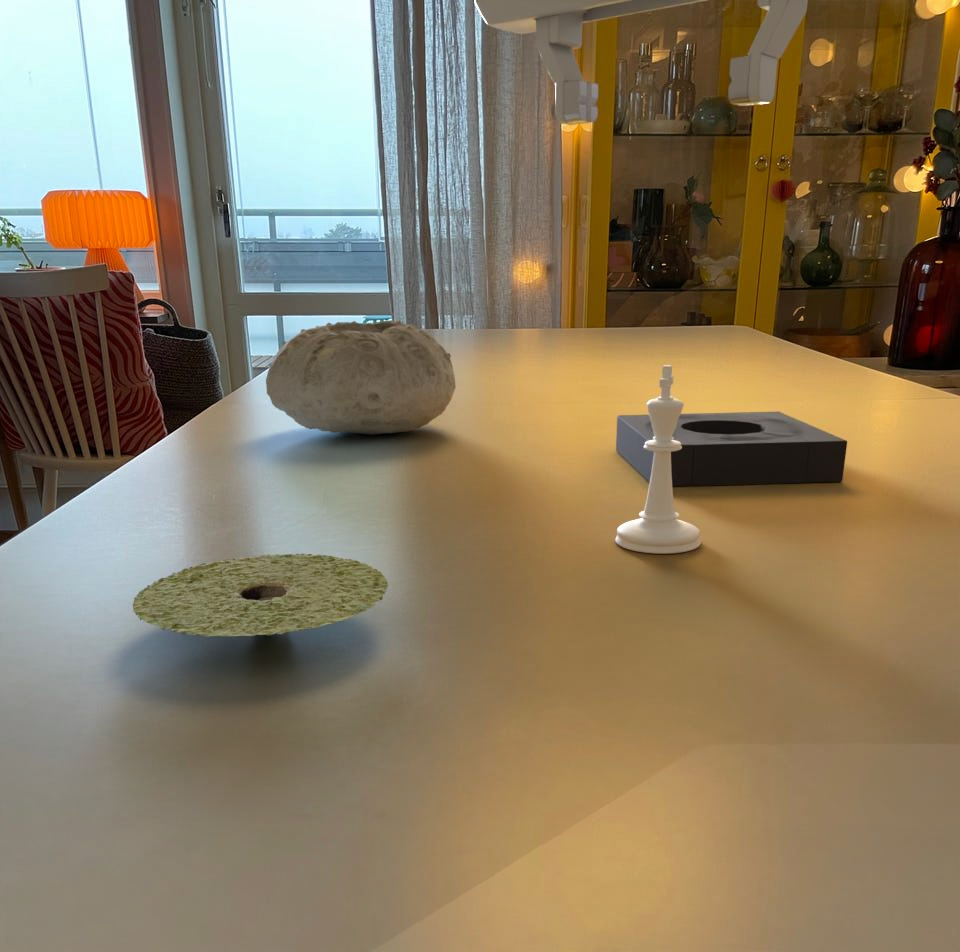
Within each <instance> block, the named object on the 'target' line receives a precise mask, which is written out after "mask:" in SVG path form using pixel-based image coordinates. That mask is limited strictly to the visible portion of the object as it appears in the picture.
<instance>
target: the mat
mask: <svg viewBox="0 0 960 952" xmlns="http://www.w3.org/2000/svg"><path fill="white" fill-rule="evenodd" d="M388 583H389V582H388V579H387V578H386V576H384V575H383V573H382V572H381V571H379V570H378V569H377V568H374V567H372V566H371V565H369V564H366V563H363V562H360V561H358V560H354V559H352V558H342V557H337V556H333V555H327V554H326V555H325V554H319V553H318V554H312V553H309V554H307V553H300V554H299V553H296V554H295V553H286V554H285V553H284V554H279V553H278V554H263V555H257V556H255V555H254V556H248V557H247V556H246V557H237V558H232V559H231V558H230V559H223V560H215V561H212V562H209V563H205V562H204V563H200V564H197V565H194V566H190V567H189V568H187V567H186V568H183V569H182V570H181V571H178V572H172V574H170V575H168V576H166V577H161V578H159V579H158V580H154V581H153V583H152V584H150V585H149V584H148V585H147V586H146V587H144V588H143V589H142V590H139V592H138V593H137V594H136V596H134V597H133V603H132V610H133V612H134V613H135V615H136V616H137V618H139V620H140V621H141V620H142V621H144V622H146V624H149V625H150V626H156V627H158V628H159V629H161V630H163V631H165V630H167V631H172V632H173V633H180V634H182V635H183V636H184V635H185V636H186V635H191V636H202V637H206V638H208V637H216V636H220V637H255V636H257V635H259V636H263V635H266V636H272V635H275V634H277V635H283V634H285V633H290V632H296V631H297V632H302V631H305V630H310V629H311V630H312V629H318V628H320V627H323V626H327V625H332V624H334V623H337V622H342V621H345V620H347V619H349V618H352V617H356V616H358V615H360V614H362V613H364V612H367V611H368V610H369V609H371V608H373V607H374V606H376V605H377V603H379V602H380V601H382V600H383V597H384V595H385V594H386V592H387V591H386V590H388V587H389V584H388Z"/></svg>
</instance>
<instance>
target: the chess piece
mask: <svg viewBox="0 0 960 952" xmlns="http://www.w3.org/2000/svg"><path fill="white" fill-rule="evenodd" d="M672 373H673V365H672V364H671V365H668V364H663V365H662V373H661V378H659V388H661V391H660V396H657V397H656V398H652V399H651V398H650V399H649V400H648V401H647V402H646V409H647V413H648V415H650V419H651V424H652V428H653V431H654V435H655V437H653V439H654V440H649V441H646V442H645V444H646V445H644V448H645V449H646V450H650V451H654V458H653V465H652V472H651V478H650V483H648V484H649V485H648V490H647V496H646V501H645V506H644V510H641V511H640V512H638V516H639V517H640V518H636V519H635V518H634V519H632V520H629V521H626V522H624V523H622V524H621V525H619V526H618V527H617V529H616V537H615V539H614V541H615V543H616V545H618V546H620V547H621V548H623V549H626V550H629V551H634V552H638V553H646V554H655V555H656V554H659V555H661V554H663V555H665V554H668V555H669V554H679V553H685V552H690V551H693V550H696V549H697V548H699V547H700V546H701V544H702V543H701V539H700V536H701V531H700V529H699V528H698V527H697V526H695V525H694V524H691V523H690V522H686V521H684V520H681V519H678V518H679V517H680V513H678V512H676V511H675V504H674V493H673V487H672V474H671V452H672V451H678V450H680V449H682V446H681V443H680V442H679V441H675V440H673V439H674V438H673V437H672V435H673V432H674V430H675V428H676V425H677V421H678V419H679V416H680V414H682V411H683V409H684V402H683V401H682V400H681V399H680V398H679V399H678V398H675V397H674V396H672V395H671V393H672V392H671V390H672V385H674V375H672Z"/></svg>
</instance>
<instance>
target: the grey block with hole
mask: <svg viewBox="0 0 960 952" xmlns="http://www.w3.org/2000/svg"><path fill="white" fill-rule="evenodd" d="M615 437H616V438H615V439H616V440H615V451H616V452H617V453H618V455H620V456H621V457H622V458H623V459H624V460H625V461H626V462H627V463H628V464H629V465H630V466H631V467H632V468H633V469H634V470H636V472H638V474H639V475H641V477H642V478H644V479H645V480H646V481H647V482H648V484H650V478H651V472H652V465H653V458H654V451H650V450H646V449H645V448H644V445H646V444H645V442H646V441H649V440H654V439H653V437H655V435H654V431H653V428H652V424H651V419H650V415H649V414H620V415H619V414H618V415H617V416H616V436H615ZM672 437H673V438H674V439H673V440H675V441H679V442H680V443H681V446H682V449H680V450H678V451H672V452H671V474H672V488H673V487H705V486H707V487H708V486H744V485H745V486H747V485H778V484H779V485H780V484H781V485H782V484H784V485H785V484H810V483H811V484H813V483H814V484H815V483H842V482H843V478H844V471H845V464H846V457H847V455H846V454H847V448H848V440H847V439H843V438H842V437H839V436H838V435H837V436H836V435H834V434H832V433H830V432H827V431H826V430H823V429H821V428H818V427H816V426H813V425H812V424H809V423H807V422H804V421H802V420H800V419H797V418H795V417H793V416H791V415H788V414H786V413H783V412H781V411H748V412H747V411H746V412H745V411H743V412H742V411H741V412H739V411H738V412H698V413H696V412H695V413H681V414H680V416H679V419H678V421H677V425H676V428H675V430H674V432H673V435H672Z"/></svg>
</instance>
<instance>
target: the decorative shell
mask: <svg viewBox="0 0 960 952" xmlns="http://www.w3.org/2000/svg"><path fill="white" fill-rule="evenodd" d="M451 357H452V356H451V353H450V352H447V350H446V349H445V348H444V346H442V345H441V343H439V342H438V340H436V339H435V338H434V336H432V335H430V334H429V333H428V332H426V331H424V330H421V329H419V328H418V327H415V325H414V324H413V323H411V324H408V323H403V322H402V321H401V320H396V321H395V320H380V321H378V322H373V323H372V322H366V323H363V322H362V323H361V322H357V321H355V320H353V321H350V322H349V321H337V322H335V323H334V324H333V323H331V322H327V323H326V324H325V325H320V326H319V325H316V326H315V327H310V328H307V329H305V328H302V329H301V330H300V332H299V333H297V334H295V335H294V336H292V337H291V338H289V340H287V341H286V340H284V341H282V343H281V347H280V348H279V349H278V351H277V352H276V354H275V356H274V358H273V360H272V361H271V362H270V363H269V367H268V371H267V375H266V378H265V385H266V386H265V387H266V395H267V396H268V397H269V399H270V401H271V402H270V403H271V404H272V405H273V406H274V408H275V409H278V410H279V411H282V412H284V413H285V415H287V416H288V417H289V418H291V419H292V420H293V421H294V422H295V423H297V424H298V425H299V426H301V427H303V428H305V429H307V430H308V429H309V430H319V431H321V432H329V433H333V434H334V433H346V434H364V435H380V434H381V435H383V434H396V433H408V432H411V431H412V430H414V429H415V430H416V429H420V428H421V427H424V426H427V425H428V424H429V423H431V422H432V421H433V420H434V419H437V418H438V417H439V416H440V415H442V414H443V413H444V412H445V410H446V409H447V407H448V405H449V404H450V402H451V401H452V399H453V395H454V393H455V390H456V375H455V371H454V367H453V363H452V360H451Z"/></svg>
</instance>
